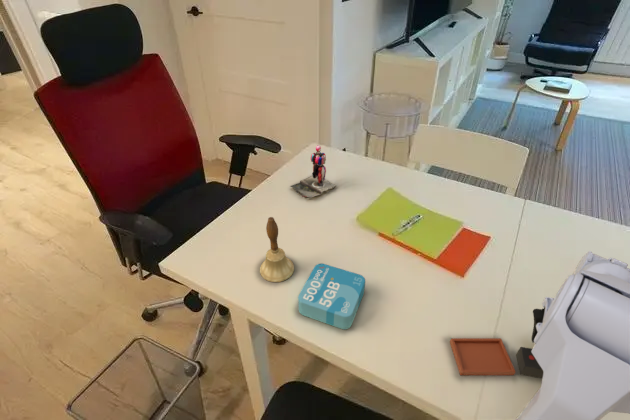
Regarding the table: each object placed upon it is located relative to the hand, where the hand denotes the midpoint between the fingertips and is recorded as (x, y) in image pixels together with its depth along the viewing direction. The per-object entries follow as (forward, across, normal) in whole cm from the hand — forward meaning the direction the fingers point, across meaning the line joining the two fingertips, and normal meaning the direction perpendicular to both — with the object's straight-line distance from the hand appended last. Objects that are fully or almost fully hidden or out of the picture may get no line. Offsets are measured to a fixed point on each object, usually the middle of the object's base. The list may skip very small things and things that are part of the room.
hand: (542, 360), depth 69 cm
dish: (+3, 0, -10) cm, 11 cm away
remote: (+3, 0, 0) cm, 3 cm away
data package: (+1, -6, -35) cm, 35 cm away
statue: (+3, -49, -54) cm, 73 cm away
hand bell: (+3, -14, -55) cm, 57 cm away
